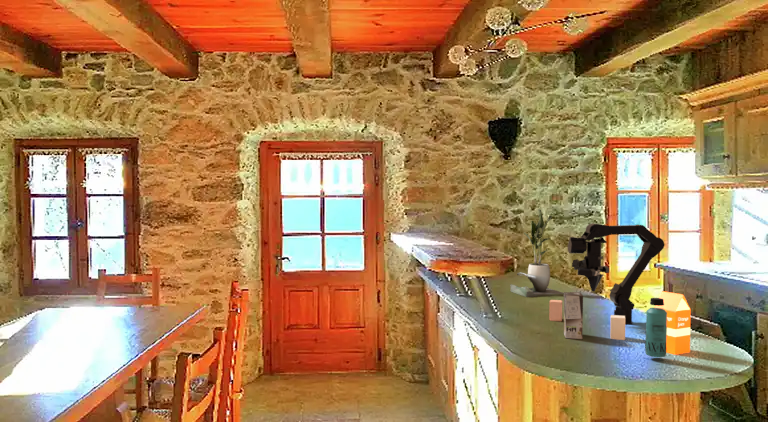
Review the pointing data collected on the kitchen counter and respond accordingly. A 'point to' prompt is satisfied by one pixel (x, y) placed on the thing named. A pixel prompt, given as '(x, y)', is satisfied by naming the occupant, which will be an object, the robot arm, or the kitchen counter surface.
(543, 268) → the potted plant
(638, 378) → the kitchen counter surface
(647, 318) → the beverage bottle
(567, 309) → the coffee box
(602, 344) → the kitchen counter surface
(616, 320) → the cream block
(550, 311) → the terracotta block
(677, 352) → the orange juice
